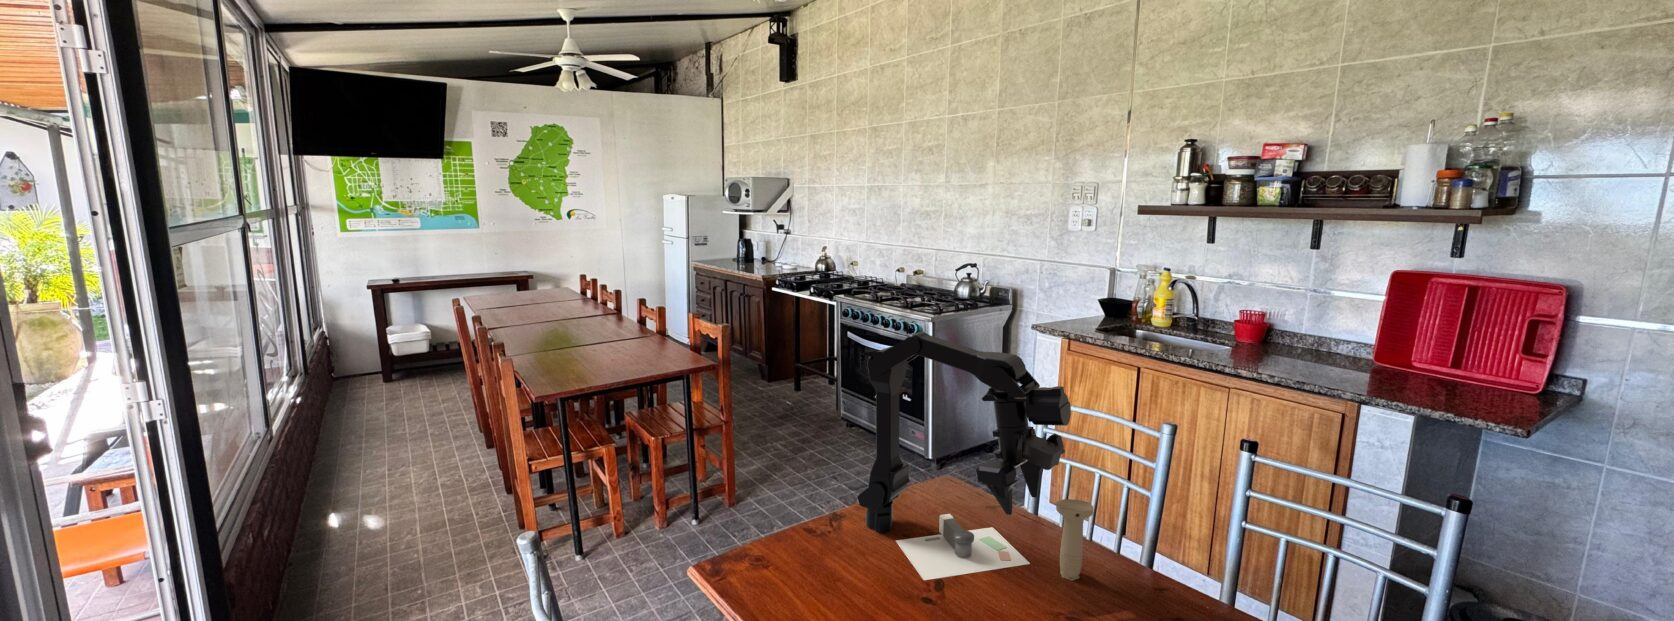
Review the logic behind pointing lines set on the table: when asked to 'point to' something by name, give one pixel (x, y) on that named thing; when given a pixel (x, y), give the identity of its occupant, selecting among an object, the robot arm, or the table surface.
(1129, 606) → the table surface
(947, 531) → the grey round-headed bar
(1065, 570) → the handle
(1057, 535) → the table surface
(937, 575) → the board
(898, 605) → the table surface
